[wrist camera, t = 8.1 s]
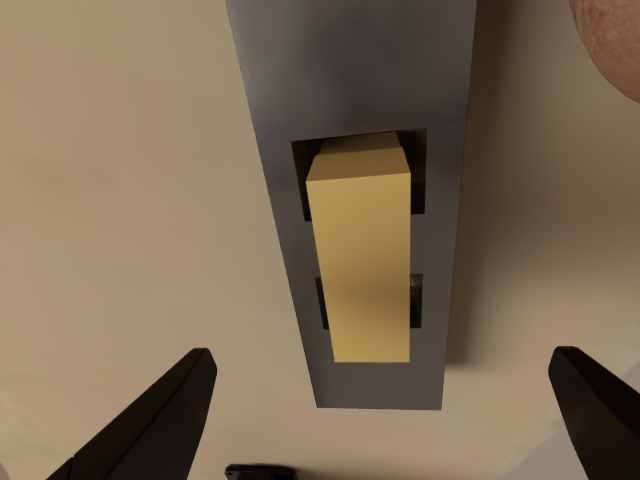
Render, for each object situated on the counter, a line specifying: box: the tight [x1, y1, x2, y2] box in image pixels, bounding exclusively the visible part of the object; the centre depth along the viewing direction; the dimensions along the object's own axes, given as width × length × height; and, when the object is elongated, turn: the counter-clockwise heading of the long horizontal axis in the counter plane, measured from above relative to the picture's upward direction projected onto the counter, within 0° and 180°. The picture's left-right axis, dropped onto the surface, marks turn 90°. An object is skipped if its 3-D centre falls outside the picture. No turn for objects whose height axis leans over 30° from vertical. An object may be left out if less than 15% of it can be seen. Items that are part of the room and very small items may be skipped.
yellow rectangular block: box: [306, 132, 411, 362], centre depth 14 cm, size 8×3×5 cm, turn 7°
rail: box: [225, 0, 477, 410], centre depth 15 cm, size 22×7×3 cm, turn 7°
